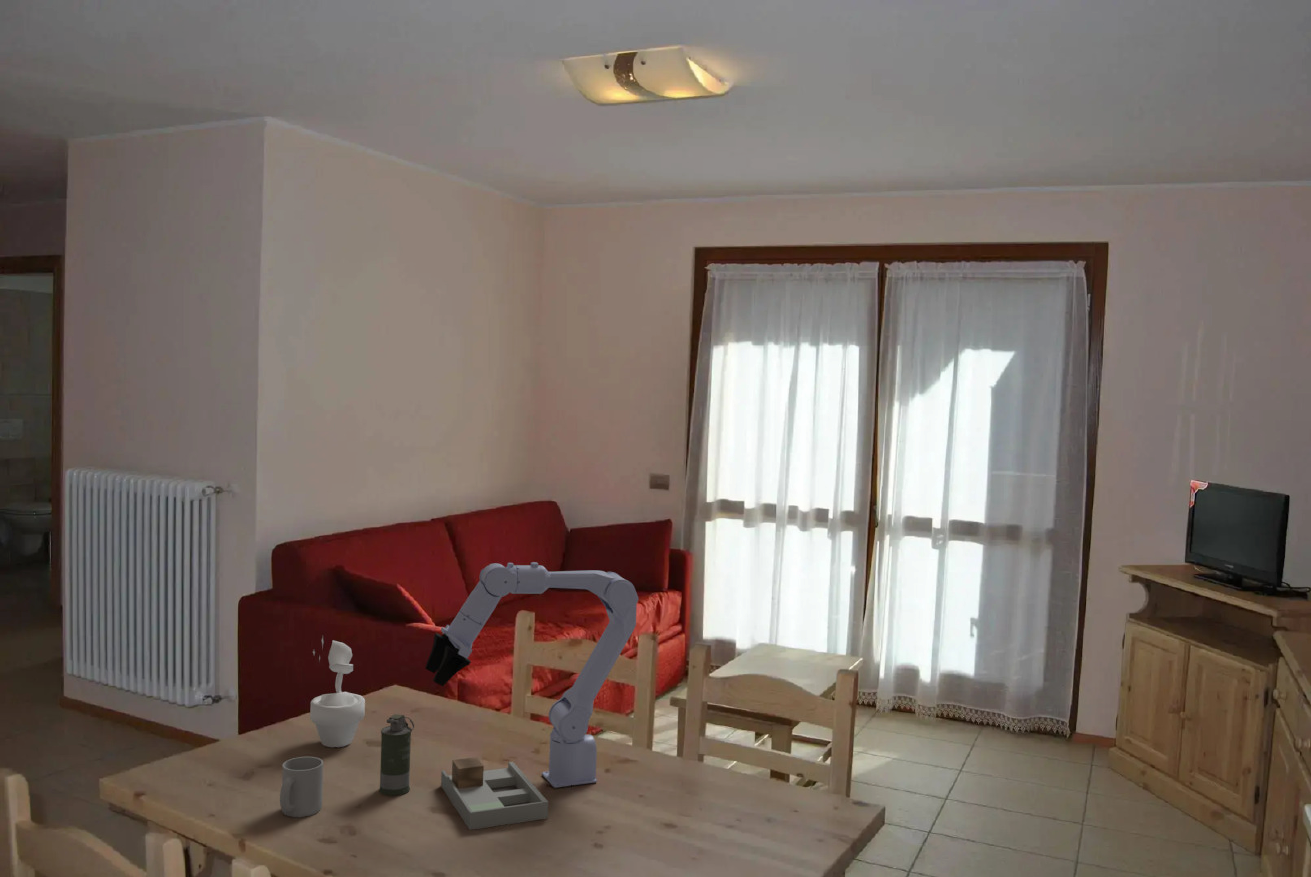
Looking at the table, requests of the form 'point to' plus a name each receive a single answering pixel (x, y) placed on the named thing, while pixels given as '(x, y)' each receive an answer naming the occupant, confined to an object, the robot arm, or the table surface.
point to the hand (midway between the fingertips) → (433, 677)
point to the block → (467, 772)
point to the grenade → (395, 756)
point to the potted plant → (337, 703)
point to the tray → (497, 799)
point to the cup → (302, 786)
